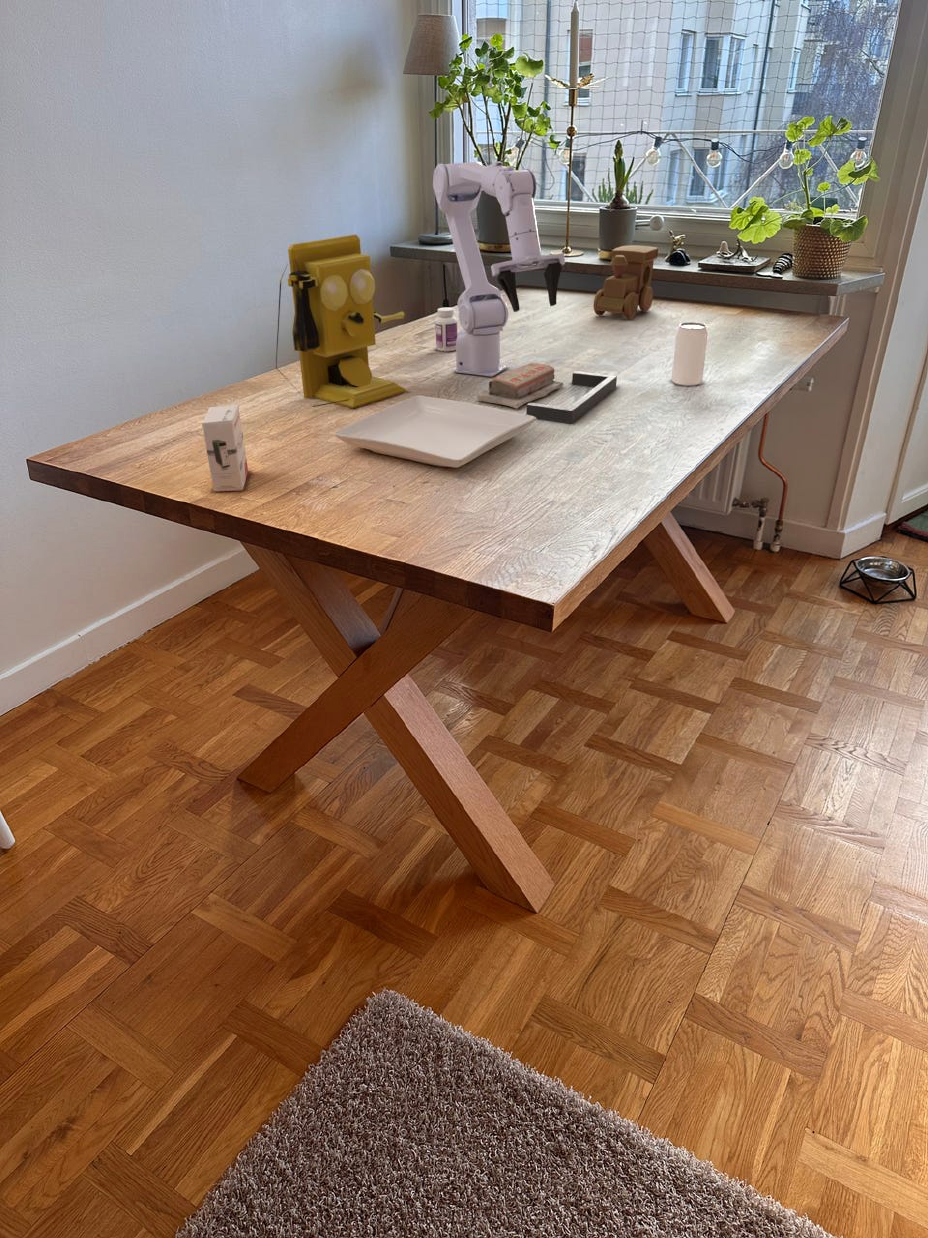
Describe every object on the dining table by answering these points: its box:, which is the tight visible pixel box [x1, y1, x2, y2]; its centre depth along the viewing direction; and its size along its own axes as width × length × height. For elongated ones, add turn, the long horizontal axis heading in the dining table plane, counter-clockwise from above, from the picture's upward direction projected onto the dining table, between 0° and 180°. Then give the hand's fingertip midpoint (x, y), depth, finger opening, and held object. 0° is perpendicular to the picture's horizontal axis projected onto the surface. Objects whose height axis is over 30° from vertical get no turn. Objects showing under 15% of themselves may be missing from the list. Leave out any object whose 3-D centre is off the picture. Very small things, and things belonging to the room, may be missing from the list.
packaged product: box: [476, 362, 564, 409], centre depth 186 cm, size 18×5×10 cm
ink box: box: [201, 404, 249, 492], centre depth 146 cm, size 9×5×12 cm, turn 5°
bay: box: [525, 370, 618, 424], centre depth 182 cm, size 10×26×2 cm, turn 153°
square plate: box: [332, 394, 537, 469], centre depth 162 cm, size 27×27×4 cm
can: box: [671, 321, 709, 387], centre depth 191 cm, size 6×6×12 cm
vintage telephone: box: [275, 234, 407, 410], centre depth 181 cm, size 31×14×30 cm, turn 137°
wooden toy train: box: [593, 244, 659, 320], centre depth 248 cm, size 20×11×17 cm, turn 147°
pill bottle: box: [434, 306, 459, 352], centre depth 219 cm, size 5×5×10 cm
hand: (535, 307), depth 177 cm, fingers open, 7 cm apart
